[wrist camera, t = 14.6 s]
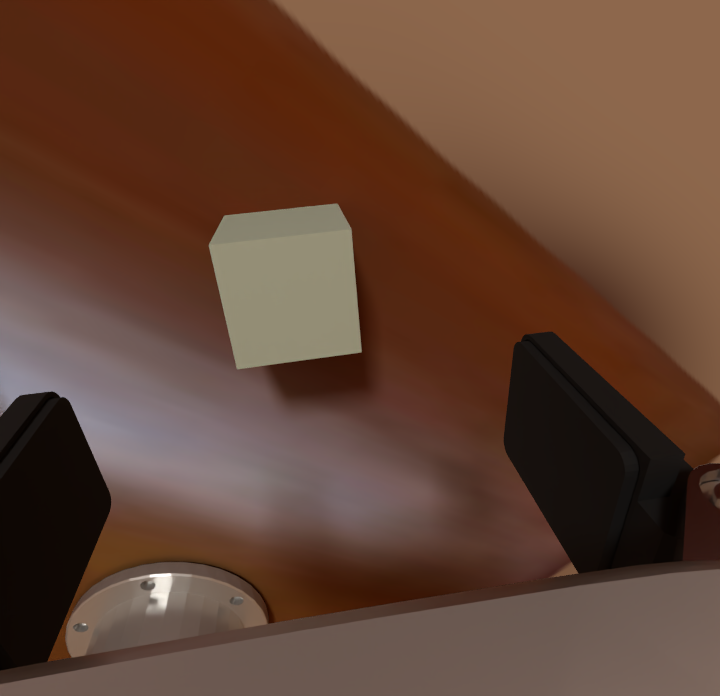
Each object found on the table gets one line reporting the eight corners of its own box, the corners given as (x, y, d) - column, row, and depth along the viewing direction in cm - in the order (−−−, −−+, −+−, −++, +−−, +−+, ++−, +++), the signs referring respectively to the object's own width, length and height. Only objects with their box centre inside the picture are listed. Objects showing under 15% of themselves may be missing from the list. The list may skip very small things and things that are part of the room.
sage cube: (347, 306, 24) (361, 352, 19) (245, 318, 23) (236, 369, 19) (337, 203, 21) (351, 229, 17) (224, 215, 21) (208, 245, 16)
